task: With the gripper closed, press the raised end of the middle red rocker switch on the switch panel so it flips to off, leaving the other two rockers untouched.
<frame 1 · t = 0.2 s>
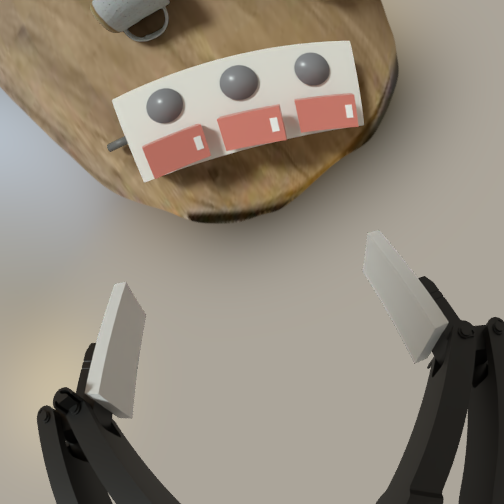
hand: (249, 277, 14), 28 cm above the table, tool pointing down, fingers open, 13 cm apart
rocker 1: (176, 150, 29), point 7 cm above the table, hinge at -15.0°
rocker 2: (252, 127, 28), point 7 cm above the table, hinge at 15.0°
switch panel: (240, 99, 32), on the table
rocker 3: (326, 112, 28), point 7 cm above the table, hinge at 15.0°
ceramic mug: (143, 11, 22), on the table
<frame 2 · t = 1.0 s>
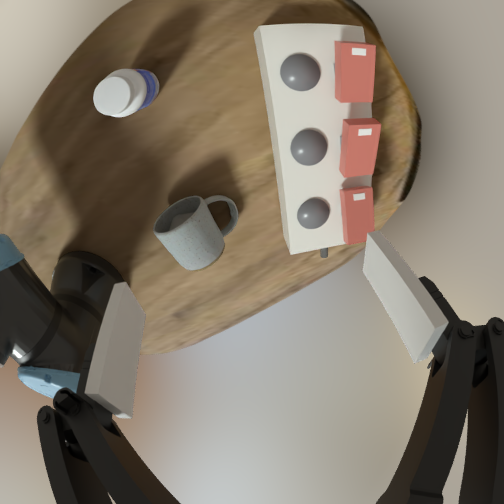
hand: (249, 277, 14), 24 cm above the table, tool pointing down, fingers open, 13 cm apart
rocker 1: (358, 215, 33), point 7 cm above the table, hinge at -15.0°
rocker 2: (359, 148, 28), point 7 cm above the table, hinge at 15.0°
switch panel: (315, 135, 33), on the table
pill bottle: (139, 89, 27), on the table
rocker 3: (355, 71, 22), point 7 cm above the table, hinge at 15.0°
ceramic mug: (200, 215, 39), on the table
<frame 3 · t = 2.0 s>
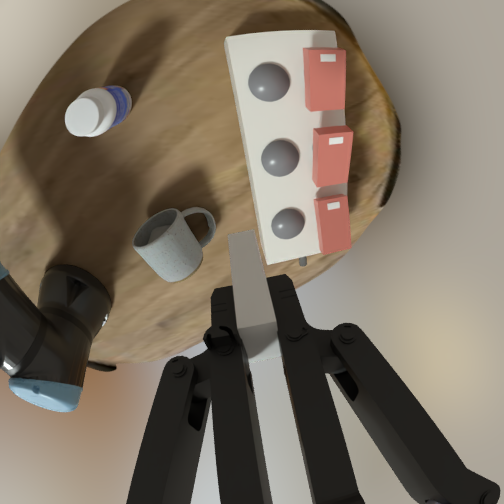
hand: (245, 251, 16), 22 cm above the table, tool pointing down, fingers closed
rocker 1: (333, 224, 34), point 7 cm above the table, hinge at -15.0°
rocker 2: (331, 156, 28), point 7 cm above the table, hinge at 15.0°
switch panel: (289, 144, 34), on the table
pill bottle: (113, 105, 27), on the table
rocker 3: (325, 78, 23), point 7 cm above the table, hinge at 15.0°
ceramic mug: (178, 227, 39), on the table
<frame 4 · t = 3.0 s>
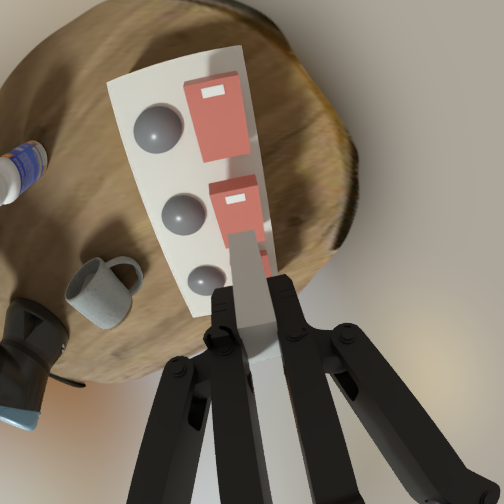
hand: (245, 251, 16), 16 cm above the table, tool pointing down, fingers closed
rocker 1: (254, 284, 30), point 7 cm above the table, hinge at -15.0°
rocker 2: (239, 214, 25), point 7 cm above the table, hinge at 15.0°
switch panel: (208, 190, 30), on the table
pill bottle: (34, 159, 24), on the table
rocker 3: (218, 117, 19), point 7 cm above the table, hinge at 15.0°
ceramic mug: (111, 272, 36), on the table
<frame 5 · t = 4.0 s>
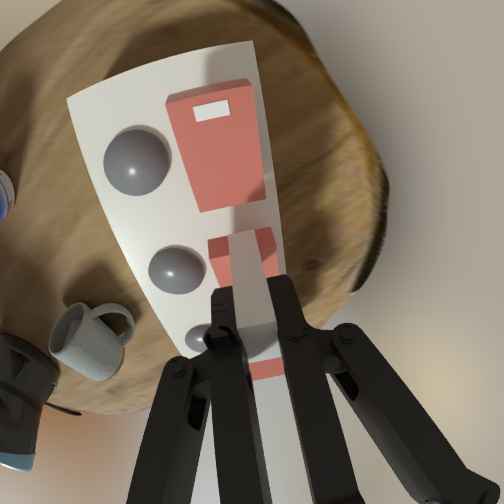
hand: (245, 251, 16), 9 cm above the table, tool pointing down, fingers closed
rocker 1: (264, 347, 24), point 7 cm above the table, hinge at -15.0°
rocker 2: (248, 276, 19), point 7 cm above the table, hinge at 13.5°, touching gripper
switch panel: (207, 231, 25), on the table
pill bottle: (1, 190, 18), on the table
rocker 3: (220, 148, 14), point 7 cm above the table, hinge at 15.0°
ceramic mug: (99, 317, 30), on the table
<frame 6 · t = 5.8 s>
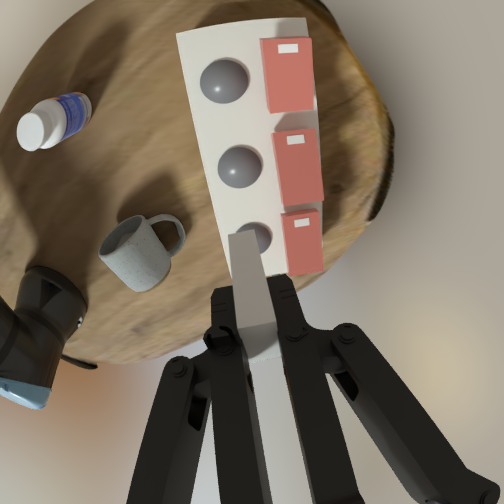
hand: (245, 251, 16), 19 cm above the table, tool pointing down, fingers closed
rocker 1: (302, 242, 30), point 7 cm above the table, hinge at -15.0°
rocker 2: (298, 166, 25), point 7 cm above the table, hinge at -15.9°
switch panel: (258, 150, 31), on the table
pill bottle: (75, 111, 24), on the table
rocker 3: (288, 73, 19), point 7 cm above the table, hinge at 15.0°
ceramic mug: (149, 233, 36), on the table
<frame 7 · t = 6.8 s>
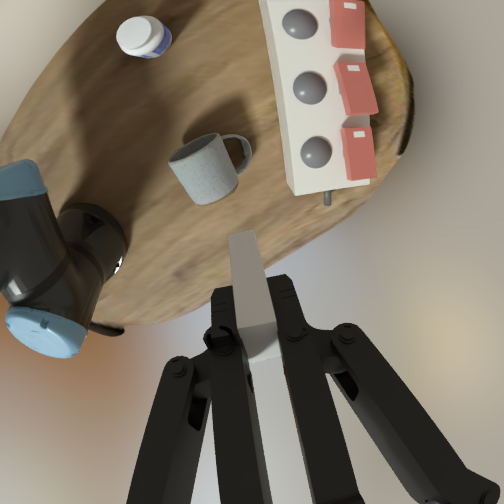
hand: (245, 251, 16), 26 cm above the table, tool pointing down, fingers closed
rocker 1: (359, 153, 32), point 7 cm above the table, hinge at -15.0°
rocker 2: (356, 88, 27), point 7 cm above the table, hinge at -21.5°, touching switch panel
switch panel: (314, 85, 33), on the table
pill bottle: (153, 42, 26), on the table
rocker 3: (348, 23, 22), point 7 cm above the table, hinge at 15.0°
ceramic mug: (213, 156, 38), on the table
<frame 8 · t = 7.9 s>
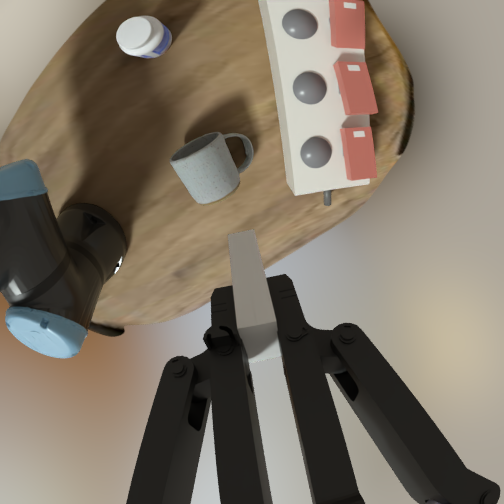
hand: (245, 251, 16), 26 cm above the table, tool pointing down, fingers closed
rocker 1: (359, 153, 32), point 7 cm above the table, hinge at -15.0°
rocker 2: (356, 87, 27), point 7 cm above the table, hinge at -19.2°
switch panel: (314, 85, 33), on the table
pill bottle: (153, 42, 26), on the table
rocker 3: (347, 23, 22), point 7 cm above the table, hinge at 15.0°
ceramic mug: (215, 155, 38), on the table
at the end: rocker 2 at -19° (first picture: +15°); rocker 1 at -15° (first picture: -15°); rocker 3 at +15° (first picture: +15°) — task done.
